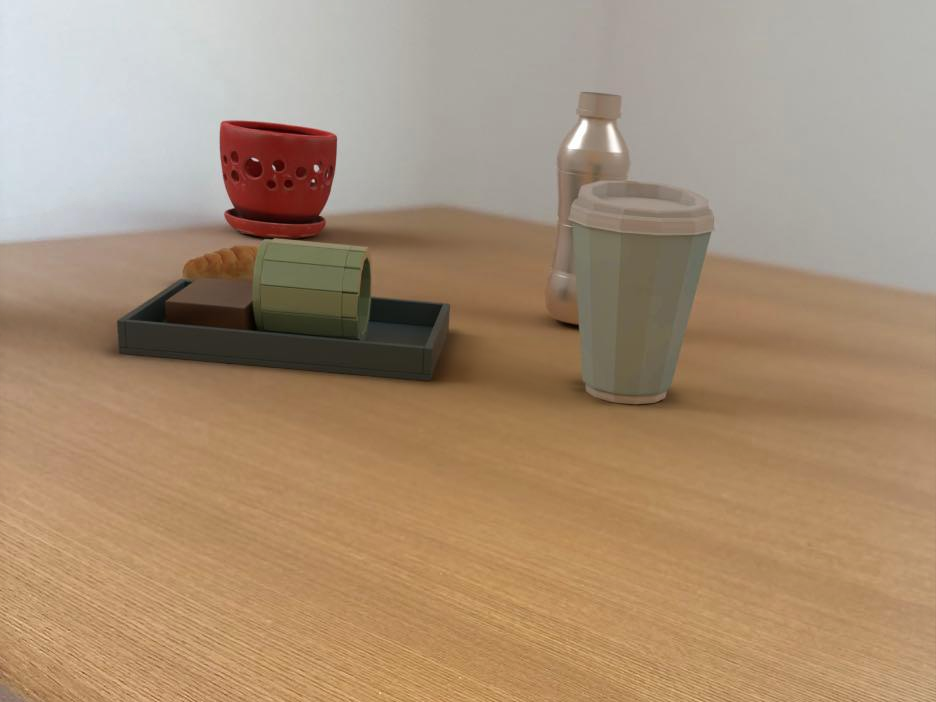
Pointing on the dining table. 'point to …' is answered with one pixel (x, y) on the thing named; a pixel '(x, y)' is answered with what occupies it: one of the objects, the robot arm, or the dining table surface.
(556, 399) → the dining table surface
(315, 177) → the flower pot
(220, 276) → the pastry
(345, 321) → the jar
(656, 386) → the disposable coffee cup
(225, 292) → the riser
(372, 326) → the tray
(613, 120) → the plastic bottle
